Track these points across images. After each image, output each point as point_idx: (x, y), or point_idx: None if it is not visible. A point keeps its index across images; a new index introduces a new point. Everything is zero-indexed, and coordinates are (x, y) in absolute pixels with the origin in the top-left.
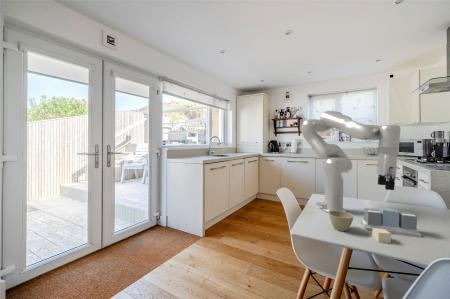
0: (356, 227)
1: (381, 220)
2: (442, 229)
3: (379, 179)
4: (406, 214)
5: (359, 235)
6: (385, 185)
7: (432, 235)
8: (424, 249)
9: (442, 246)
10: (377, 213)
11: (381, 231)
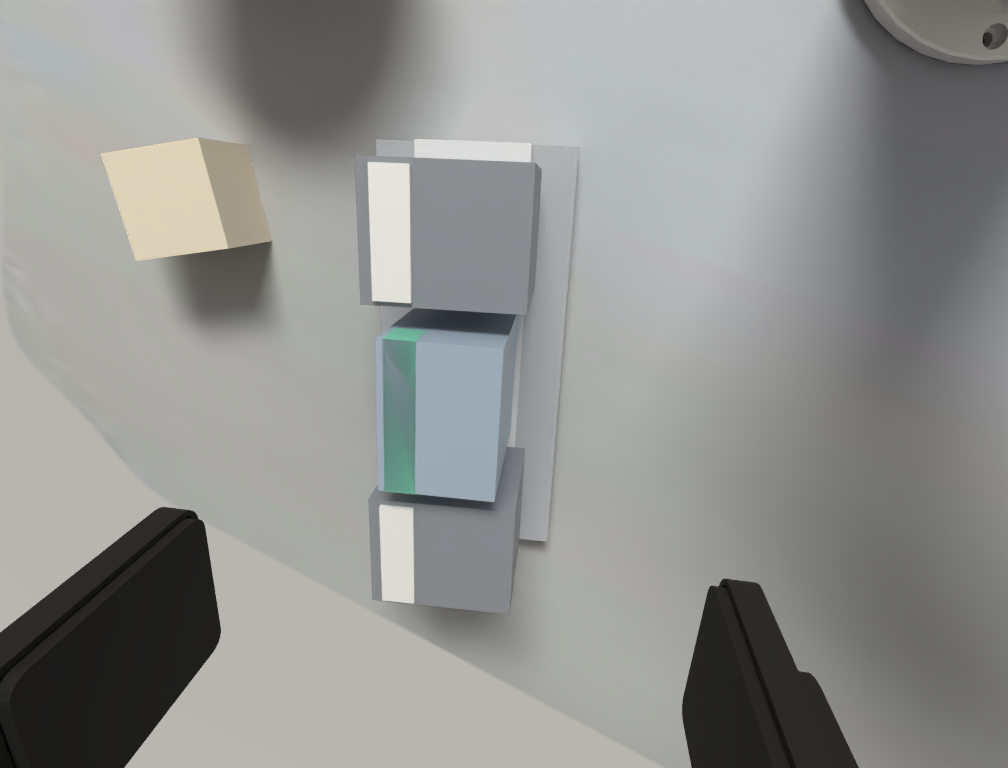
0: (426, 57)
1: (446, 311)
2: (598, 719)
3: (755, 736)
4: (401, 544)
5: (228, 27)
6: (114, 563)
7: None
8: (187, 428)
9: (286, 554)
10: (362, 263)
11: (146, 193)
